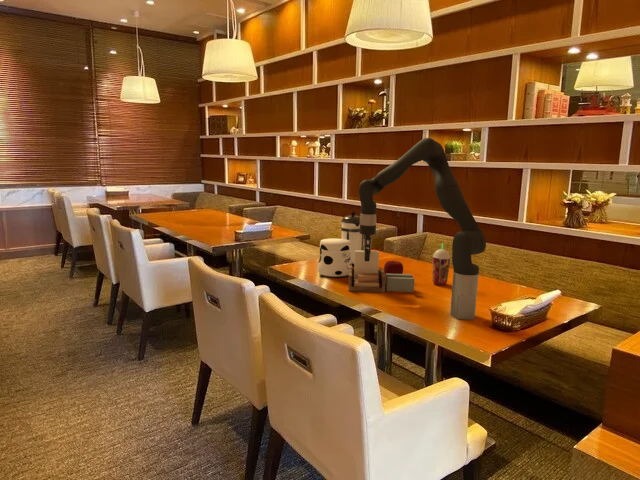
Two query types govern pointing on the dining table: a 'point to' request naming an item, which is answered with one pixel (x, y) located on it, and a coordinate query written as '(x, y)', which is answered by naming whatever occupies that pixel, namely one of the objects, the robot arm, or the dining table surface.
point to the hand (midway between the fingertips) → (366, 259)
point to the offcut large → (365, 284)
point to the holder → (399, 282)
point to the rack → (367, 289)
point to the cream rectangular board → (366, 263)
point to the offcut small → (367, 277)
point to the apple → (393, 267)
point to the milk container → (334, 258)
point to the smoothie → (441, 266)
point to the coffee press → (352, 233)
